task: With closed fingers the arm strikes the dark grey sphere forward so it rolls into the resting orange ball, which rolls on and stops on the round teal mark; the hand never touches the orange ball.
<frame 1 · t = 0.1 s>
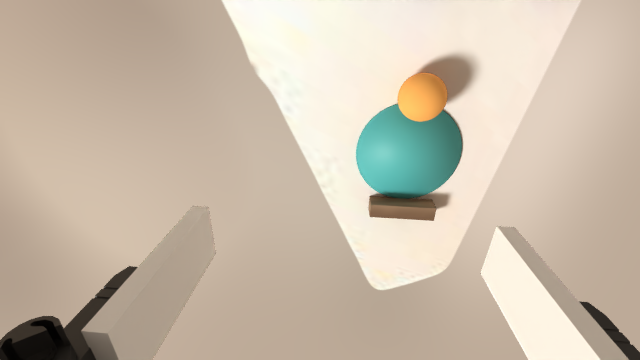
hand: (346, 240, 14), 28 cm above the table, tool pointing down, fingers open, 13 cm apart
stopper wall: (399, 203, 45), on the table
object ball: (421, 97, 35), on the table
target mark: (407, 153, 41), on the table
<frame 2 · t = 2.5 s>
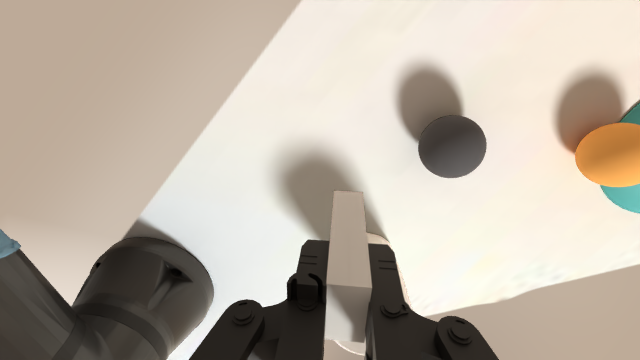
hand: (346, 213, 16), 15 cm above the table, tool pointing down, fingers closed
white cup: (365, 253, 36), on the table
dark grey sphere: (450, 147, 27), on the table
object ball: (617, 155, 26), on the table
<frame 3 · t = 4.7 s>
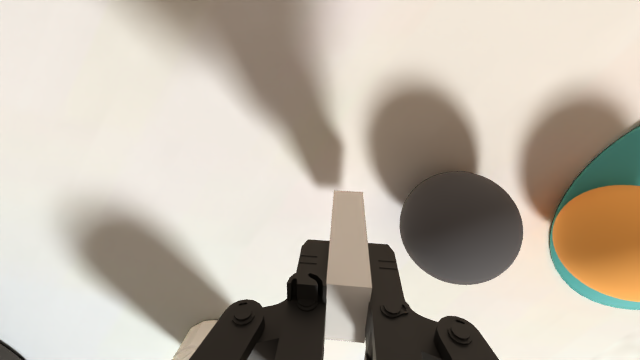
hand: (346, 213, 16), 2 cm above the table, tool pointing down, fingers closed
white cup: (227, 344, 25), on the table
dark grey sphere: (456, 226, 15), on the table
object ball: (623, 241, 15), on the table
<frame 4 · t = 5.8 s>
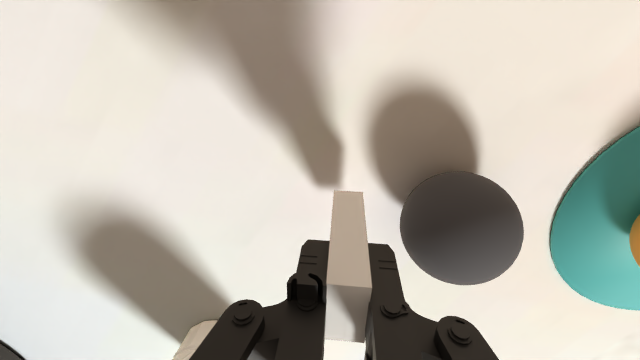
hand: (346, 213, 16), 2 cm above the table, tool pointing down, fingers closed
white cup: (227, 344, 25), on the table
dark grey sphere: (456, 226, 15), on the table
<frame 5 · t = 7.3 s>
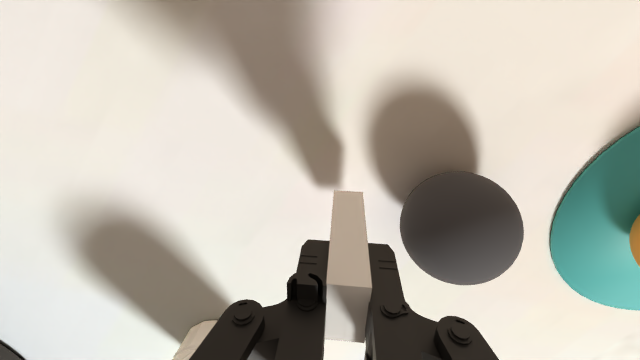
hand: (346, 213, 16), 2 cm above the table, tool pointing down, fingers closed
white cup: (227, 344, 25), on the table
dark grey sphere: (456, 226, 15), on the table
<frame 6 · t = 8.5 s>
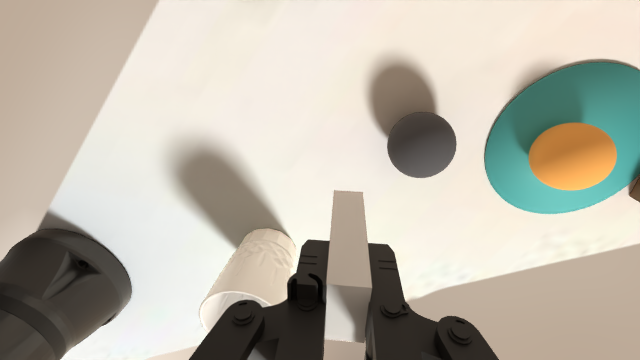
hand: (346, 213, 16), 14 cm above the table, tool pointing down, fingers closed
white cup: (270, 249, 36), on the table
dark grey sphere: (420, 145, 25), on the table
object ball: (569, 156, 24), on the table
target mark: (569, 146, 27), on the table
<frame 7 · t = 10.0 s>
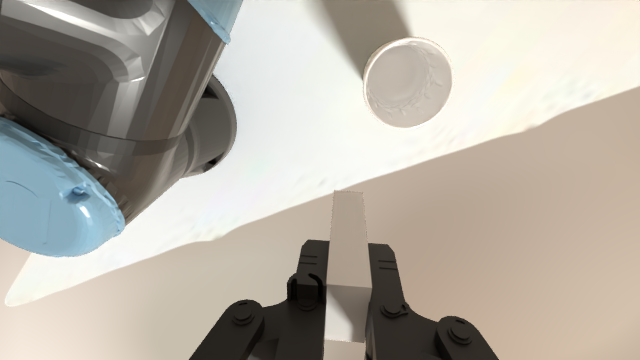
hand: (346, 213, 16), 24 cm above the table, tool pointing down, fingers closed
white cup: (392, 73, 36), on the table
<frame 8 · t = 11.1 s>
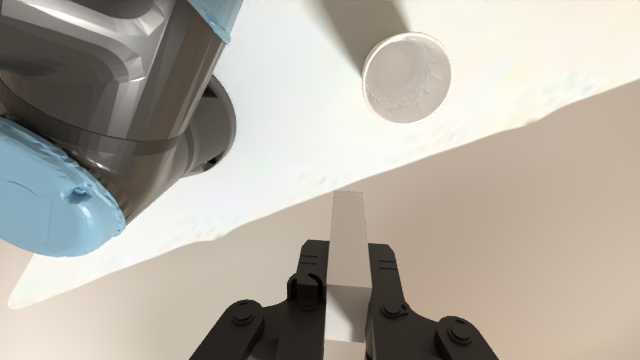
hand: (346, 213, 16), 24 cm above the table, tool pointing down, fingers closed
white cup: (391, 69, 36), on the table
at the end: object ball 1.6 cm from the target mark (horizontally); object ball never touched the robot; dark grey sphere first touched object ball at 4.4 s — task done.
